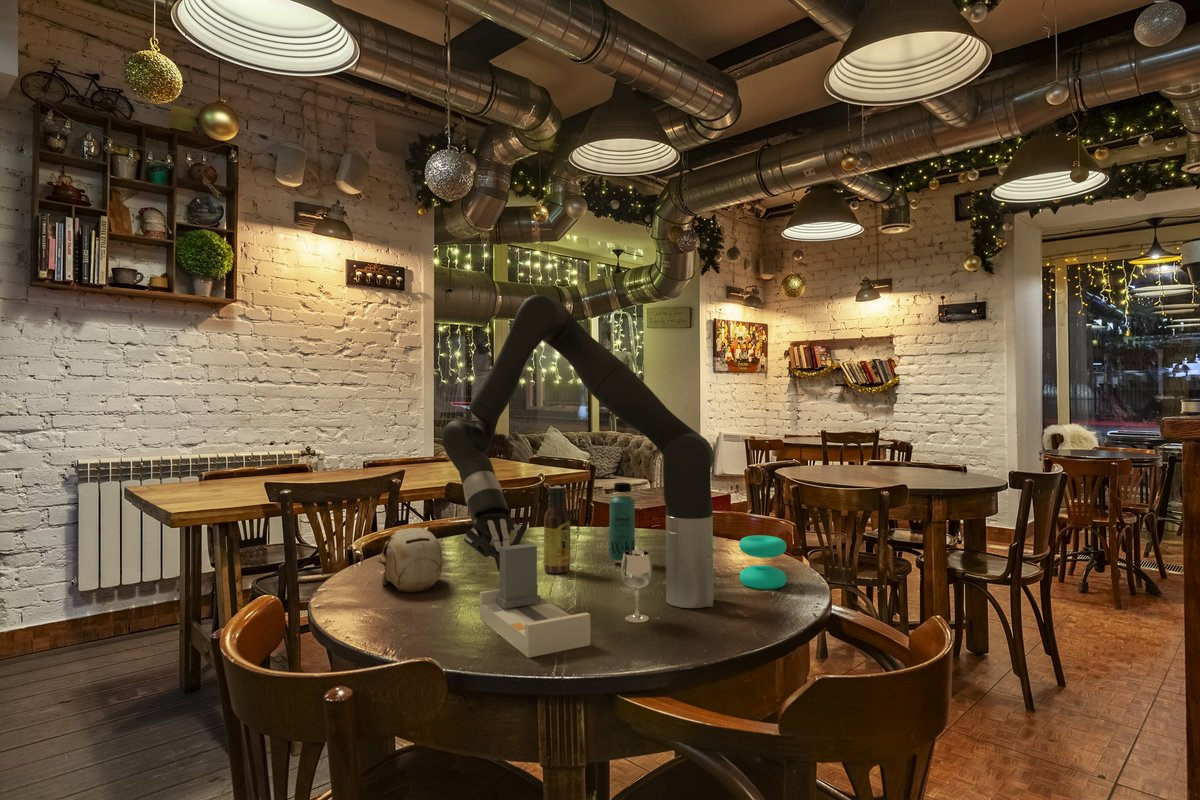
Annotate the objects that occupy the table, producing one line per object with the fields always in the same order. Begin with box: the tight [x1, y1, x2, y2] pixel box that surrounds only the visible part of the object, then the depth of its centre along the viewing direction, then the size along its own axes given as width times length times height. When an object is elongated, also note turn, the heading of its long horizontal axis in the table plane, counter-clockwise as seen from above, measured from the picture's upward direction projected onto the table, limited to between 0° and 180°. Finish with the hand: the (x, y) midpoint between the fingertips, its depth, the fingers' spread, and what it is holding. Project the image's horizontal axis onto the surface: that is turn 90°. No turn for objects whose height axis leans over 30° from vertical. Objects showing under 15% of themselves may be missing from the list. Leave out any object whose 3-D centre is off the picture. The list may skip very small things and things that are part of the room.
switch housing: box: [479, 584, 591, 659], centre depth 118 cm, size 22×11×5 cm, turn 30°
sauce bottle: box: [543, 486, 571, 575], centre depth 160 cm, size 6×6×20 cm
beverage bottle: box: [608, 482, 636, 562], centre depth 167 cm, size 6×7×20 cm
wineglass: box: [620, 549, 653, 623], centre depth 124 cm, size 6×6×12 cm
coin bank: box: [377, 527, 443, 593], centre depth 148 cm, size 16×17×13 cm
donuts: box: [738, 534, 788, 590], centre depth 148 cm, size 10×10×10 cm
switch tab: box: [496, 543, 542, 609], centre depth 123 cm, size 4×7×10 cm, turn 120°
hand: (507, 571), depth 127 cm, fingers closed
